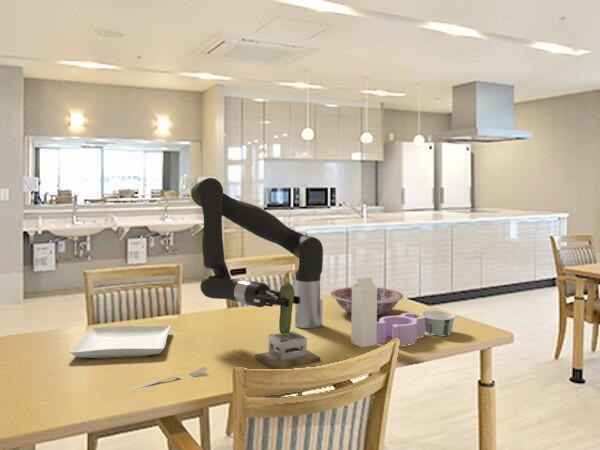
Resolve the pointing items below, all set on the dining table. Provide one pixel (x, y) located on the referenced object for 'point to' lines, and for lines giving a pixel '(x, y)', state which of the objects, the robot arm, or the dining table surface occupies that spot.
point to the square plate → (122, 341)
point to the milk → (364, 313)
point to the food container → (438, 322)
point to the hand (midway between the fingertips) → (294, 301)
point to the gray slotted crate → (287, 346)
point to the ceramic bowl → (384, 299)
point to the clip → (400, 328)
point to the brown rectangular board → (276, 364)
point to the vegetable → (286, 312)
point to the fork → (172, 377)
